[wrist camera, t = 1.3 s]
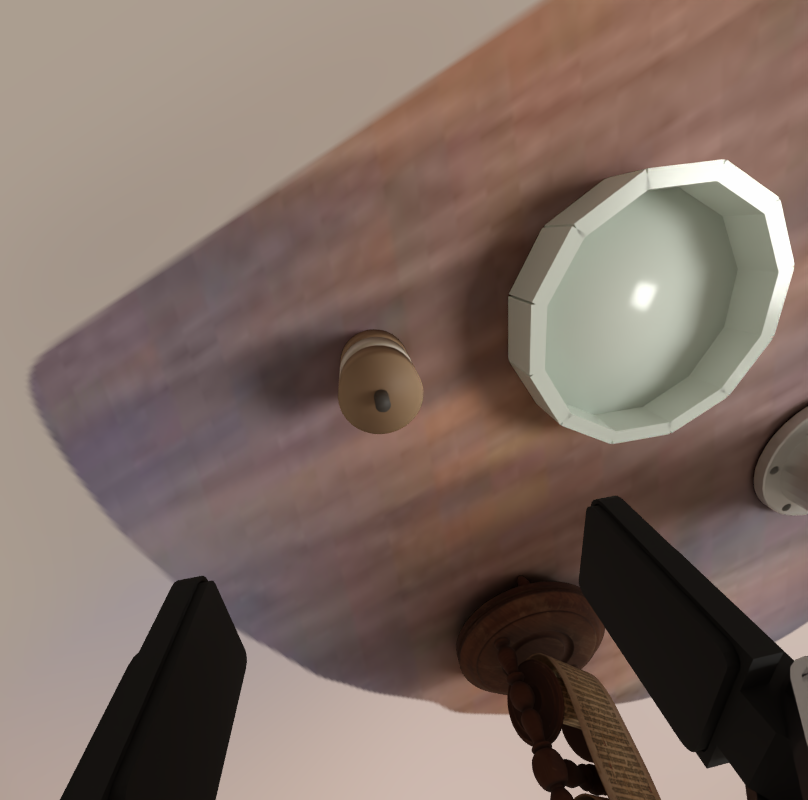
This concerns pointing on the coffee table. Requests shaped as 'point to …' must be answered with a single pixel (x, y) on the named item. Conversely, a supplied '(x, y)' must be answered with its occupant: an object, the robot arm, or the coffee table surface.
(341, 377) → the banded candle
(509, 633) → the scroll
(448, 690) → the coffee table surface
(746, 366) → the round tray
